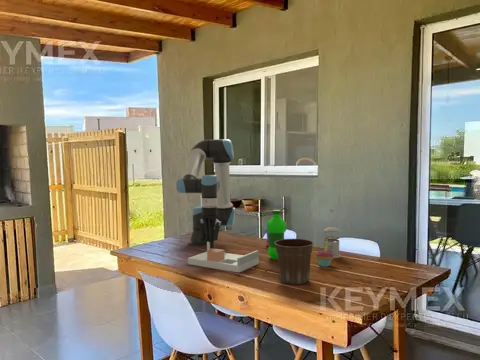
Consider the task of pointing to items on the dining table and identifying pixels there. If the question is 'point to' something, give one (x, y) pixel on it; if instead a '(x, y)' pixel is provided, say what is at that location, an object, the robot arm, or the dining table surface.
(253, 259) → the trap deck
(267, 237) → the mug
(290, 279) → the plant pot
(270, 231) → the plastic bottle
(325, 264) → the cupcake
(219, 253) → the block
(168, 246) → the dining table surface
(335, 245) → the french press
